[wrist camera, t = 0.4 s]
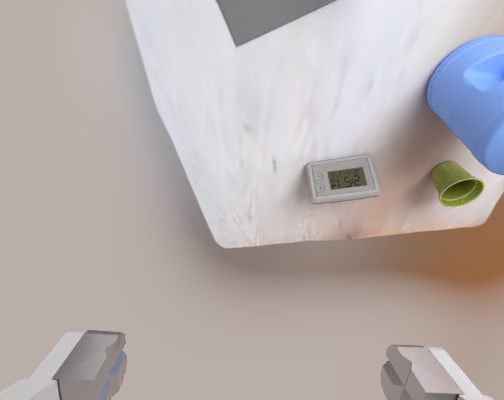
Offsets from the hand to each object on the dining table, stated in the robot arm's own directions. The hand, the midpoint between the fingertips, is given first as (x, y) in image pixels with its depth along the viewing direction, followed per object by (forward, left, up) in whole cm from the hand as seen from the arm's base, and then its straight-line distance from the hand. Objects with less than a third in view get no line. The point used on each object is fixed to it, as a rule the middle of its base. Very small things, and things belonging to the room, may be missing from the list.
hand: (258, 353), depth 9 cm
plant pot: (+52, +30, -54) cm, 81 cm away
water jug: (+28, +33, -54) cm, 69 cm away
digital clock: (+40, +5, -54) cm, 68 cm away
